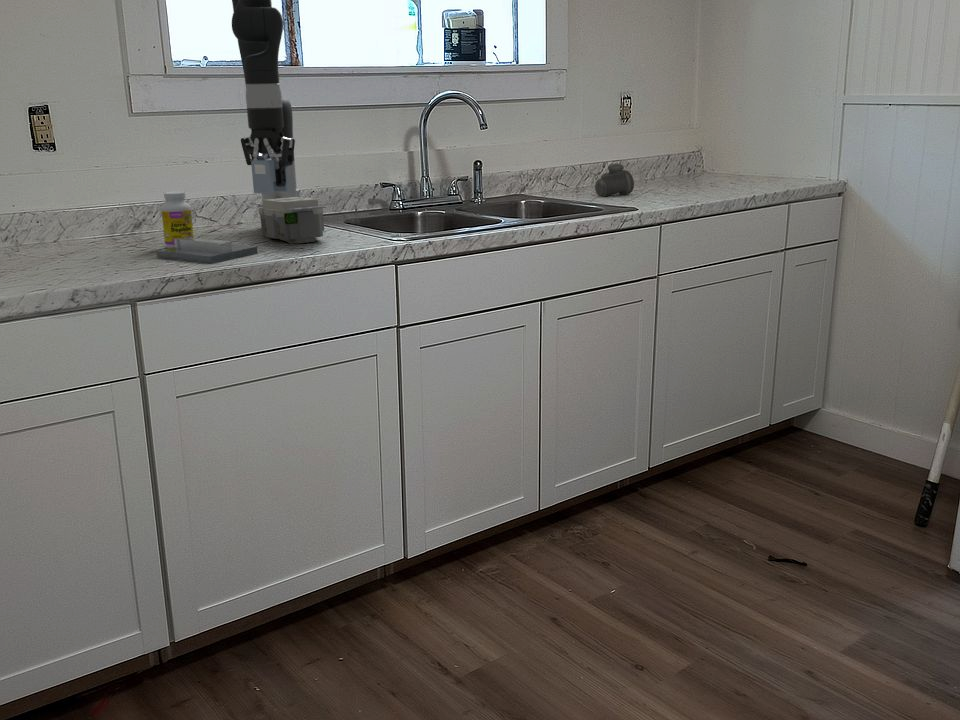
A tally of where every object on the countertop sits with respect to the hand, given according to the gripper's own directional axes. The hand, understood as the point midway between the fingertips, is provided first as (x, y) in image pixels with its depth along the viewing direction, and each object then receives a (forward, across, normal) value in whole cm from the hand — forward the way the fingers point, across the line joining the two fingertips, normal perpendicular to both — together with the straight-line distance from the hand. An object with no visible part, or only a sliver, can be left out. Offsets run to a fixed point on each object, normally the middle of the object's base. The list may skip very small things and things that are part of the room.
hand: (271, 185), depth 203 cm
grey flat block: (+15, +13, +8) cm, 22 cm away
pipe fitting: (+16, -27, -131) cm, 135 cm away
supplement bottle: (+15, +28, +3) cm, 32 cm away
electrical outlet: (+16, +12, -18) cm, 27 cm away
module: (+1, 0, 0) cm, 1 cm away
